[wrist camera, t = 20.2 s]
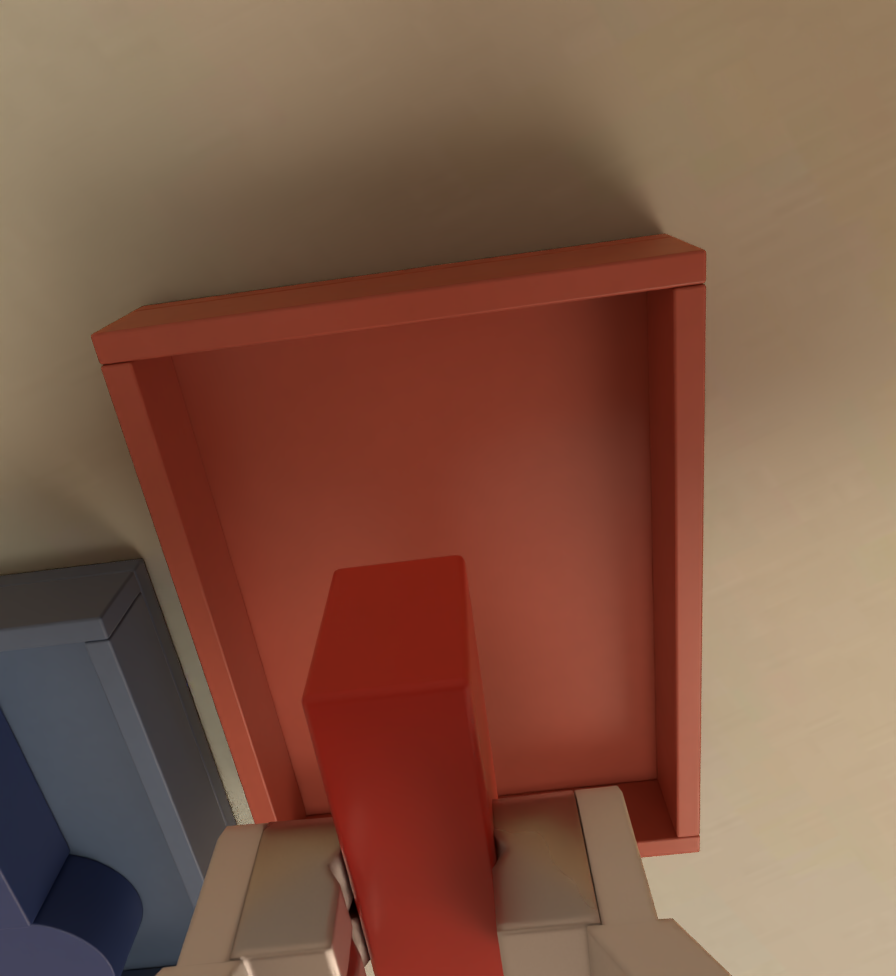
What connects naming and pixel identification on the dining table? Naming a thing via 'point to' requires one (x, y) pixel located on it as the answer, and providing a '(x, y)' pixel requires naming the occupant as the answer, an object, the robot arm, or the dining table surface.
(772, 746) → the dining table surface
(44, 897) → the blue spoon
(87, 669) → the blue tray
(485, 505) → the red tray
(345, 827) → the red spoon
